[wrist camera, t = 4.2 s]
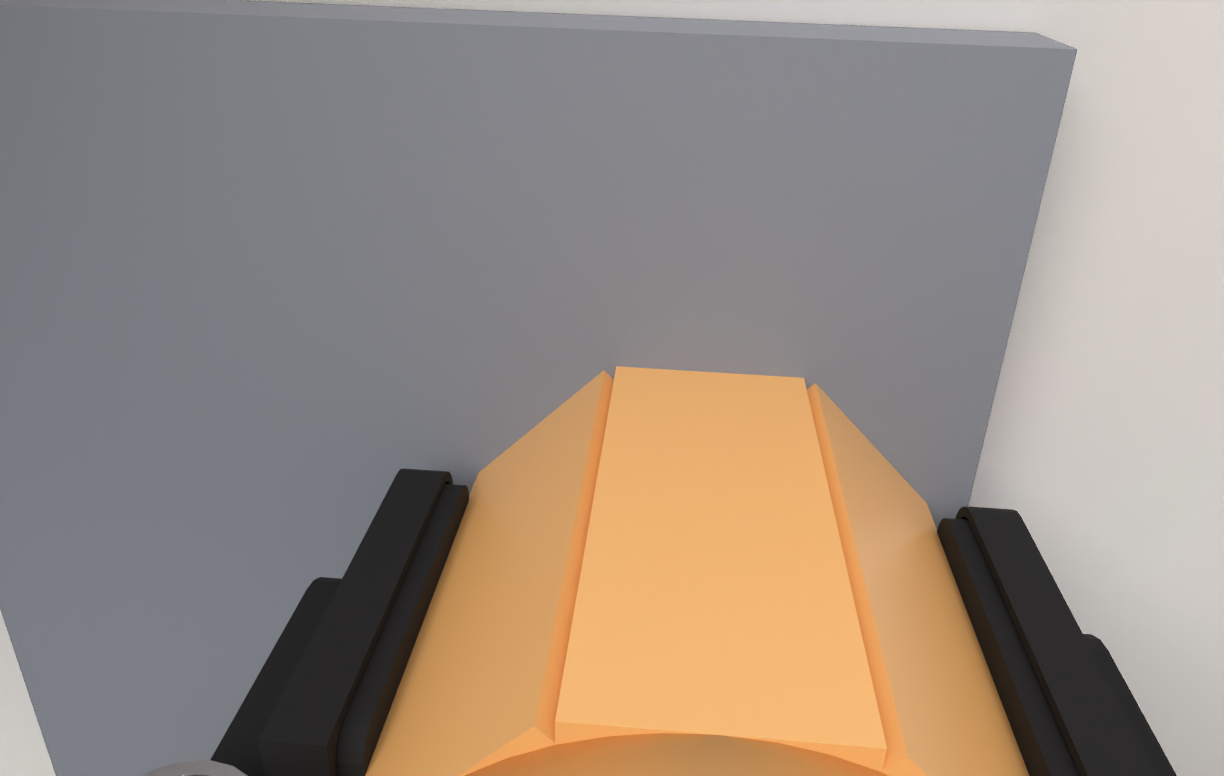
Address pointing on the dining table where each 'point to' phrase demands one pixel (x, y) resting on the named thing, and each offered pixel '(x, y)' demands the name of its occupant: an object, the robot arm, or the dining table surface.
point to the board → (443, 286)
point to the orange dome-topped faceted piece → (696, 602)
